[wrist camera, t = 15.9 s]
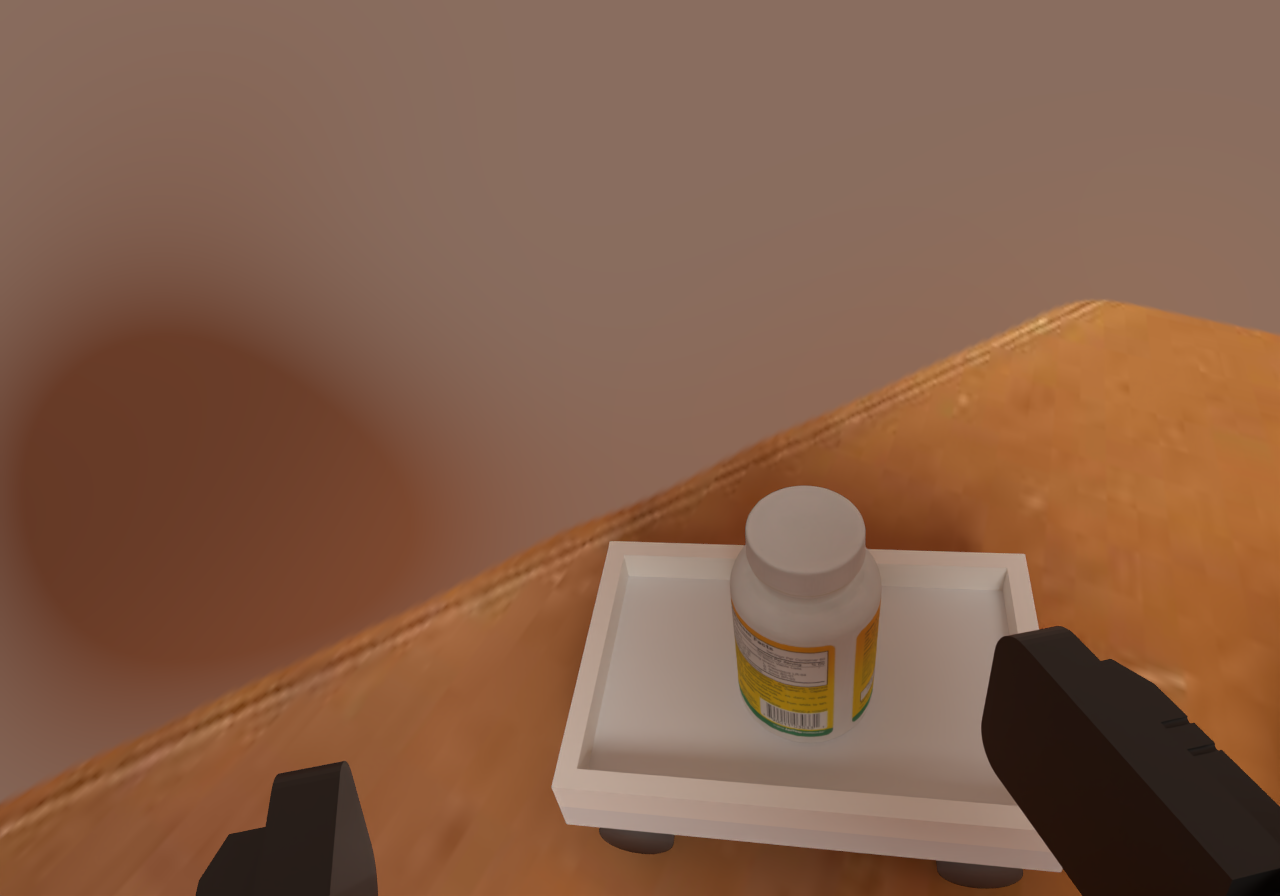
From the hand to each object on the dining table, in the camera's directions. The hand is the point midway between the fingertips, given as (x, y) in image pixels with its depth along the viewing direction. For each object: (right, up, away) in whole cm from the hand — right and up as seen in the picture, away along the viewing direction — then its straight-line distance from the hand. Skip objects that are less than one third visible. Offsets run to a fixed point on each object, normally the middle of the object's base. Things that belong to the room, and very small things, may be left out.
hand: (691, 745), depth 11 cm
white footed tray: (+7, -9, +29) cm, 31 cm away
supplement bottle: (+6, -6, +26) cm, 28 cm away
